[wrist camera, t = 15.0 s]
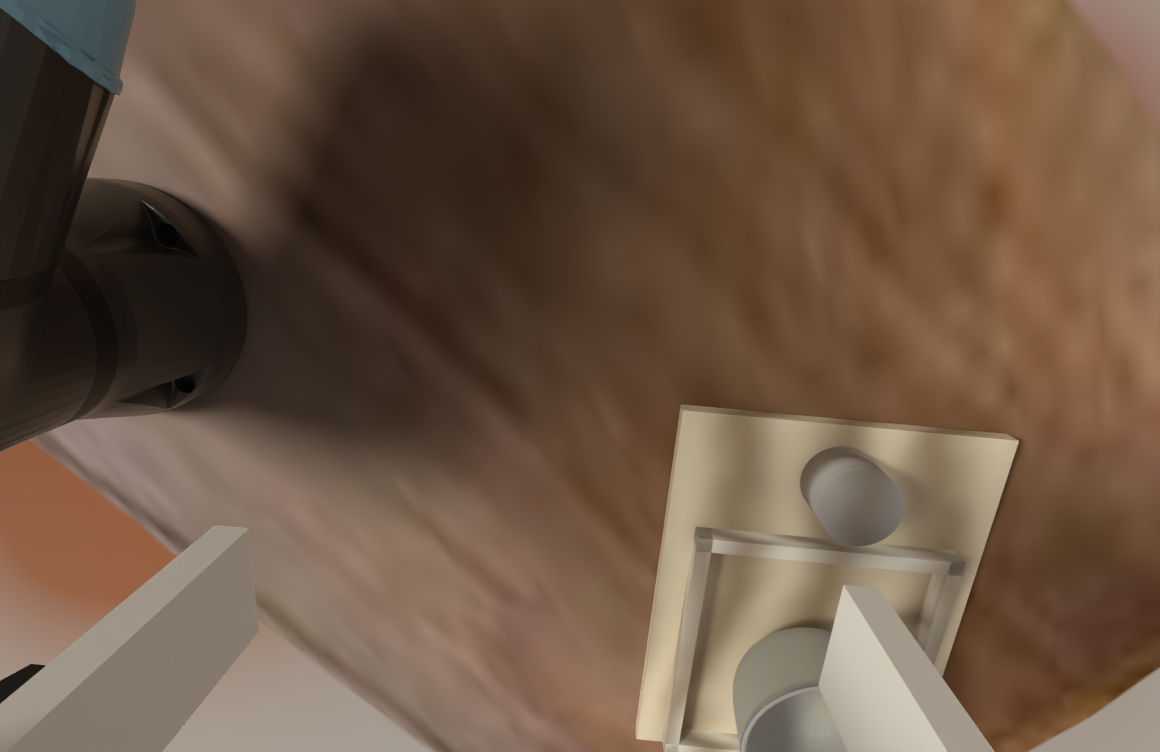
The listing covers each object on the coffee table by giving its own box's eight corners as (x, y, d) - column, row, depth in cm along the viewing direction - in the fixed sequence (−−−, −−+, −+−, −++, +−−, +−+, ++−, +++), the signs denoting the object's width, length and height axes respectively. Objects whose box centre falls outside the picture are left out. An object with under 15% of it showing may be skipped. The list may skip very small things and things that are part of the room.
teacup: (781, 743, 46) (817, 851, 38) (689, 661, 44) (706, 757, 37) (930, 643, 43) (1001, 739, 35) (837, 550, 41) (891, 630, 33)
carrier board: (635, 725, 48) (639, 787, 43) (680, 404, 40) (691, 433, 35) (905, 752, 47) (941, 817, 42) (1007, 433, 39) (1065, 467, 34)
